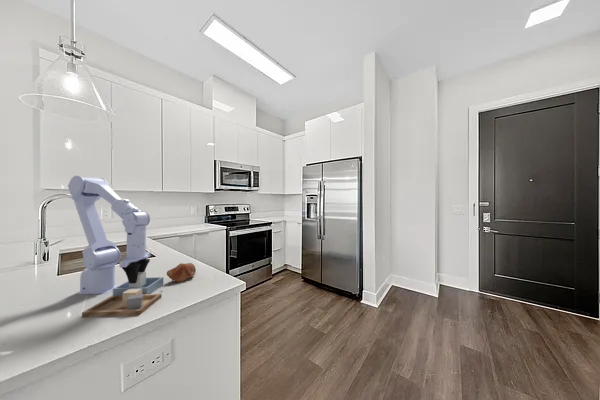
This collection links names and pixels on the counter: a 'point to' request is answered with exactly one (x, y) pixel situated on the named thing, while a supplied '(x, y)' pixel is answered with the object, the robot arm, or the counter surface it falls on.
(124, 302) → the cream cube
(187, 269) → the bread loaf
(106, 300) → the tray
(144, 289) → the dish
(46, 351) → the counter surface
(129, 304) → the matte stone cube
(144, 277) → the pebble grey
